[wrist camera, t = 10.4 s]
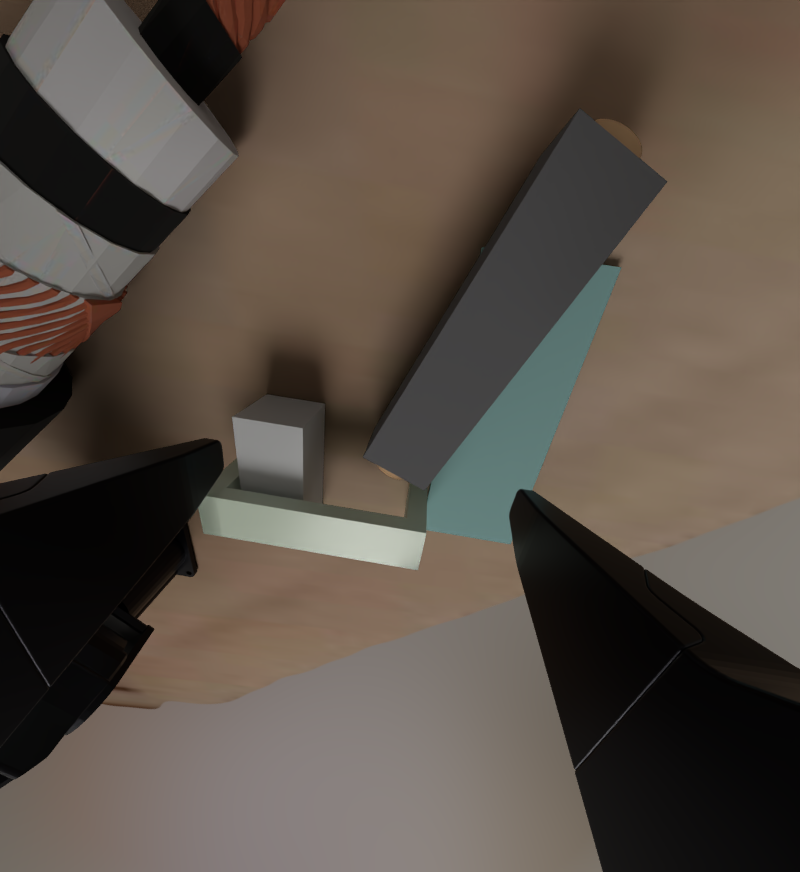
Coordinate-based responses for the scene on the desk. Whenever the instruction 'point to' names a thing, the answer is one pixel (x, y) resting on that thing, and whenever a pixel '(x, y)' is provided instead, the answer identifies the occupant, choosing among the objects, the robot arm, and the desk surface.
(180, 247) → the desk surface
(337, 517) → the light grey piece
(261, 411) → the block
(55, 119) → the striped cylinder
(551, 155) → the dark gray bar
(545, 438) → the mat
